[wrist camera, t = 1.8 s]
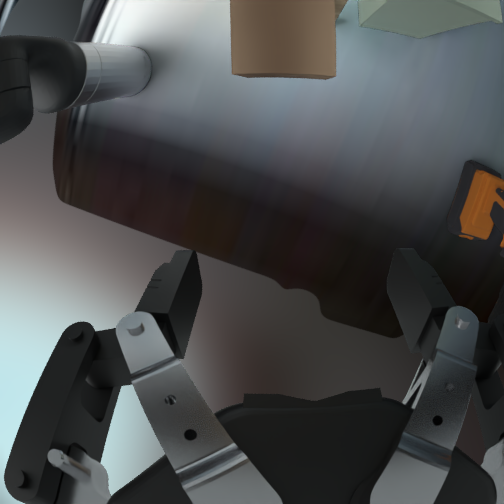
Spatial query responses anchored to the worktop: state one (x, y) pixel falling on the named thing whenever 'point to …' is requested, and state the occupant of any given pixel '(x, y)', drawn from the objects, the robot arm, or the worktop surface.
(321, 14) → the tan cardboard block
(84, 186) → the worktop surface
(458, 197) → the power drill
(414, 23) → the pale green block
